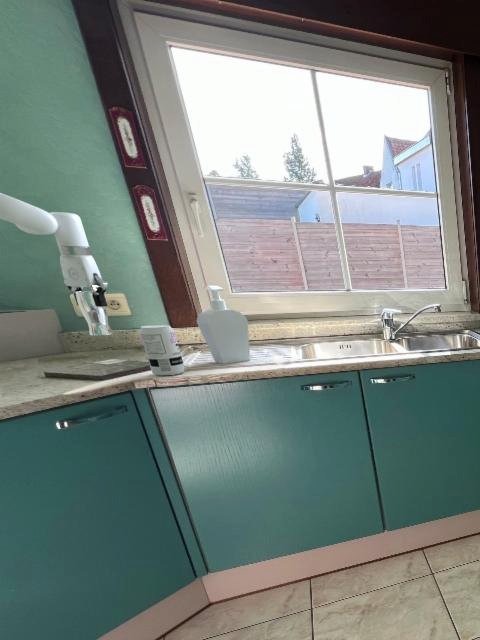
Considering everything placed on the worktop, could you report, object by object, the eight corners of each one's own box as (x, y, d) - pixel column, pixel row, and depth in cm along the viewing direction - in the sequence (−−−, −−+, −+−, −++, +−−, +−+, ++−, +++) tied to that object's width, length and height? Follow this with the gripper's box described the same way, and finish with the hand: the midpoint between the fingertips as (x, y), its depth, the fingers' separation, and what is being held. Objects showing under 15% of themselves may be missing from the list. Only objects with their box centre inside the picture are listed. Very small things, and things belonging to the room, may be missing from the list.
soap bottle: (242, 356, 185) (225, 284, 175) (257, 359, 180) (239, 286, 171) (205, 361, 175) (184, 285, 165) (219, 365, 170) (198, 287, 161)
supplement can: (149, 373, 157) (133, 326, 151) (180, 369, 163) (167, 323, 157) (157, 377, 152) (142, 328, 147) (190, 373, 159) (176, 326, 153)
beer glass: (89, 336, 173) (74, 292, 168) (87, 334, 177) (73, 290, 172) (116, 335, 178) (102, 292, 172) (113, 332, 182) (100, 290, 177)
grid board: (45, 376, 150) (43, 371, 149) (113, 363, 168) (111, 359, 168) (102, 380, 148) (101, 375, 147) (165, 366, 166) (164, 362, 166)
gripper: (40, 250, 165) (59, 305, 171) (85, 252, 163) (103, 308, 170) (66, 251, 172) (82, 304, 178) (109, 253, 170) (125, 306, 177)
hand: (92, 305), depth 174 cm, fingers closed on beer glass, 7 cm apart
